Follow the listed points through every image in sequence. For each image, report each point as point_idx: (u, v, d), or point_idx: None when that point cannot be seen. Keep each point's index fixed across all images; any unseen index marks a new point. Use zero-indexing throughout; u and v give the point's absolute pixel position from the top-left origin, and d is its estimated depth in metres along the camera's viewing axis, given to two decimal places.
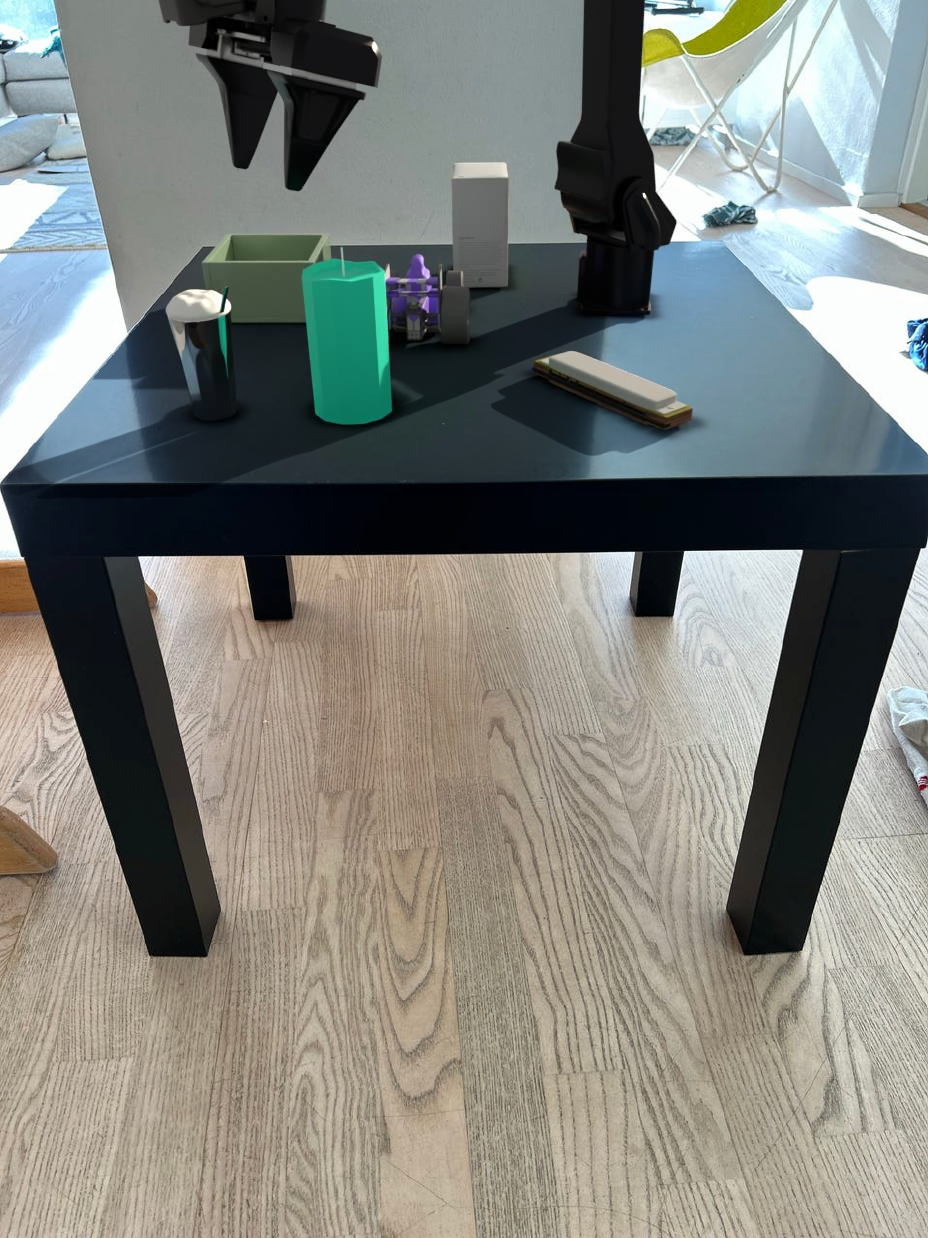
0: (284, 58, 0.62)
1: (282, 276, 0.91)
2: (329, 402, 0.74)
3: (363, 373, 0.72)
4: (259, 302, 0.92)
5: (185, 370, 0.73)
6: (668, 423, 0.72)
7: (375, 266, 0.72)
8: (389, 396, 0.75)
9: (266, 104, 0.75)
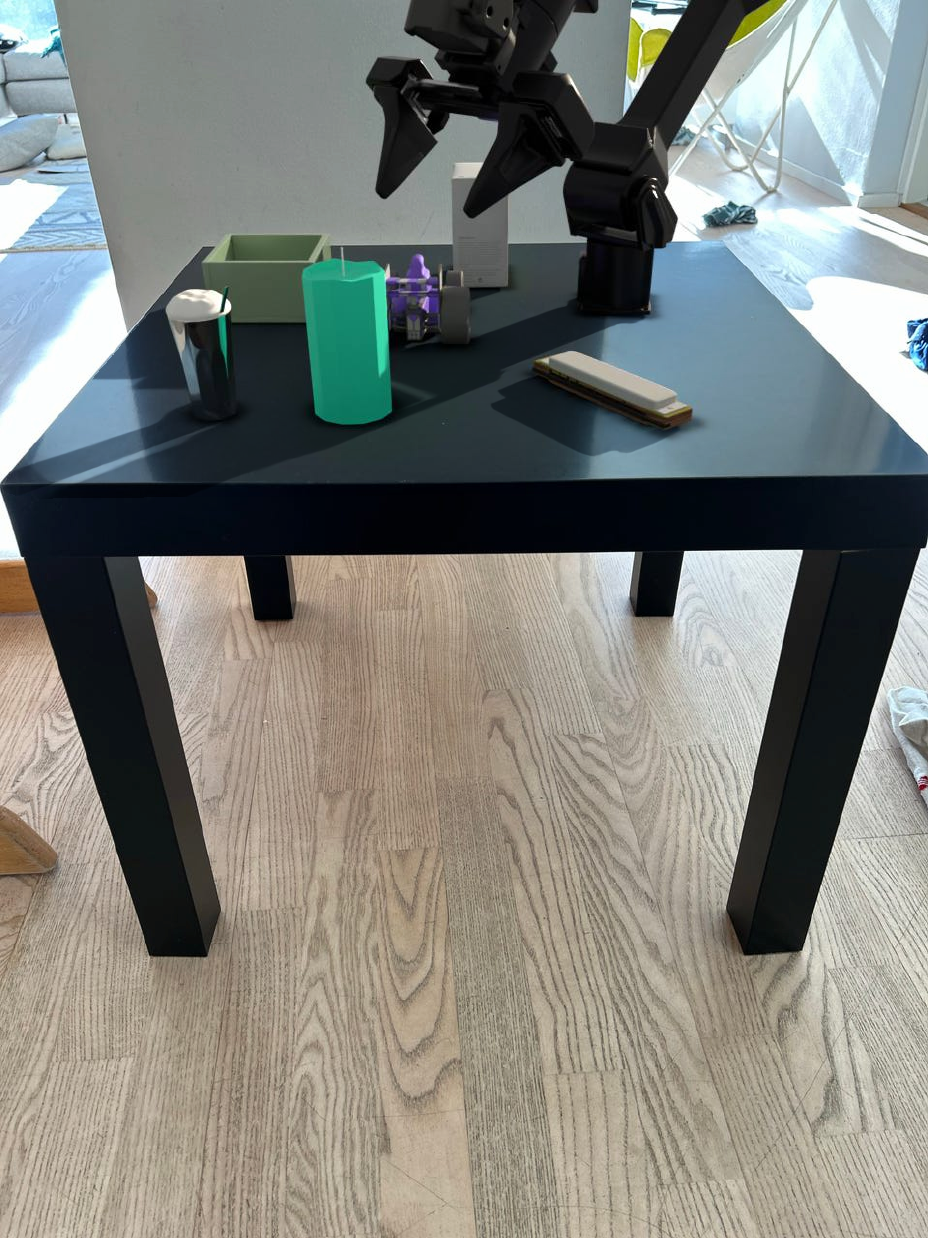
0: (534, 92, 0.67)
1: (282, 276, 0.91)
2: (329, 402, 0.74)
3: (363, 373, 0.72)
4: (259, 302, 0.92)
5: (185, 370, 0.73)
6: (668, 423, 0.72)
7: (375, 266, 0.72)
8: (389, 396, 0.75)
9: (417, 157, 0.78)
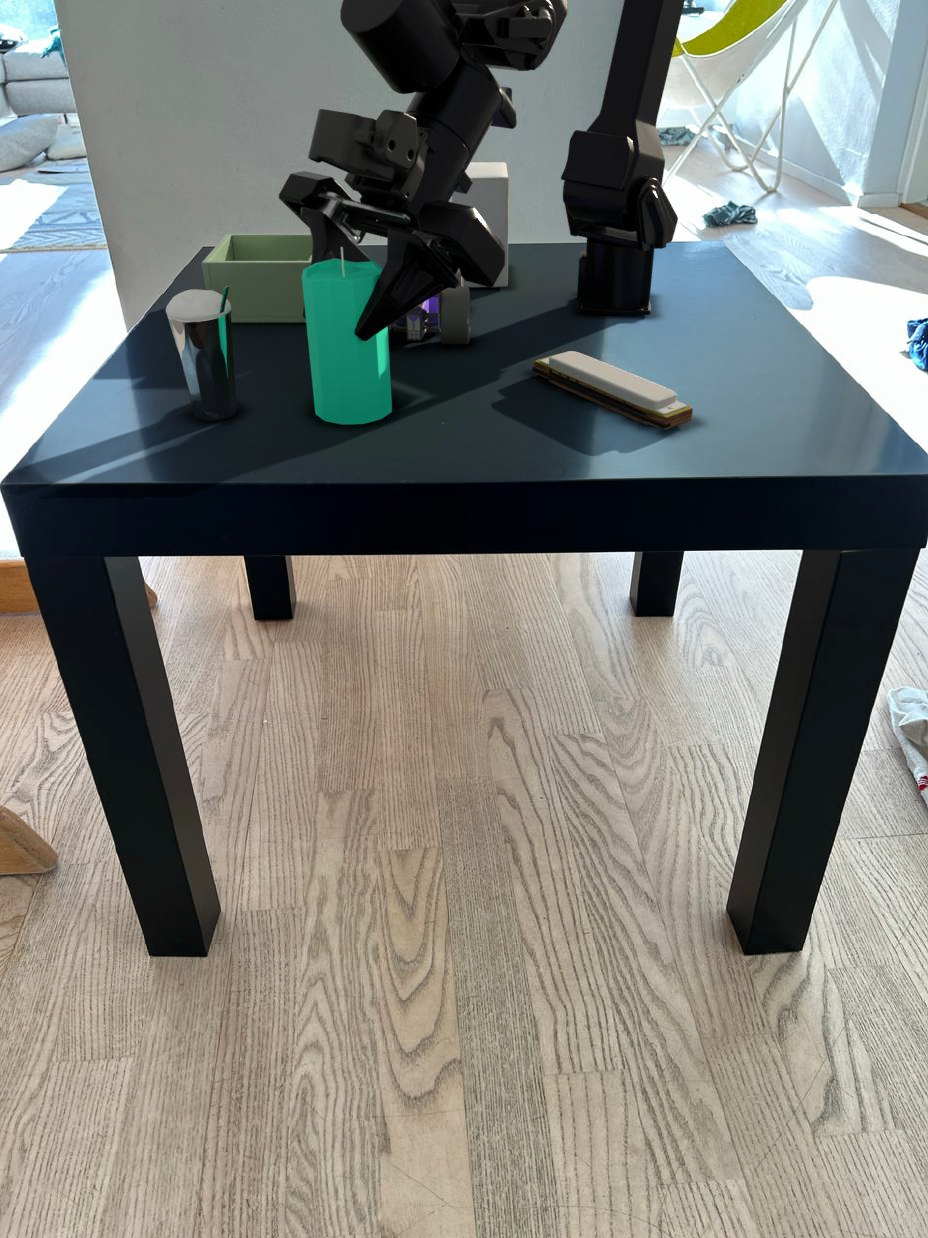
0: (438, 226, 0.65)
1: (282, 276, 0.91)
2: (329, 402, 0.74)
3: (363, 373, 0.72)
4: (259, 302, 0.92)
5: (185, 370, 0.73)
6: (668, 422, 0.72)
7: (375, 266, 0.72)
8: (389, 396, 0.75)
9: None
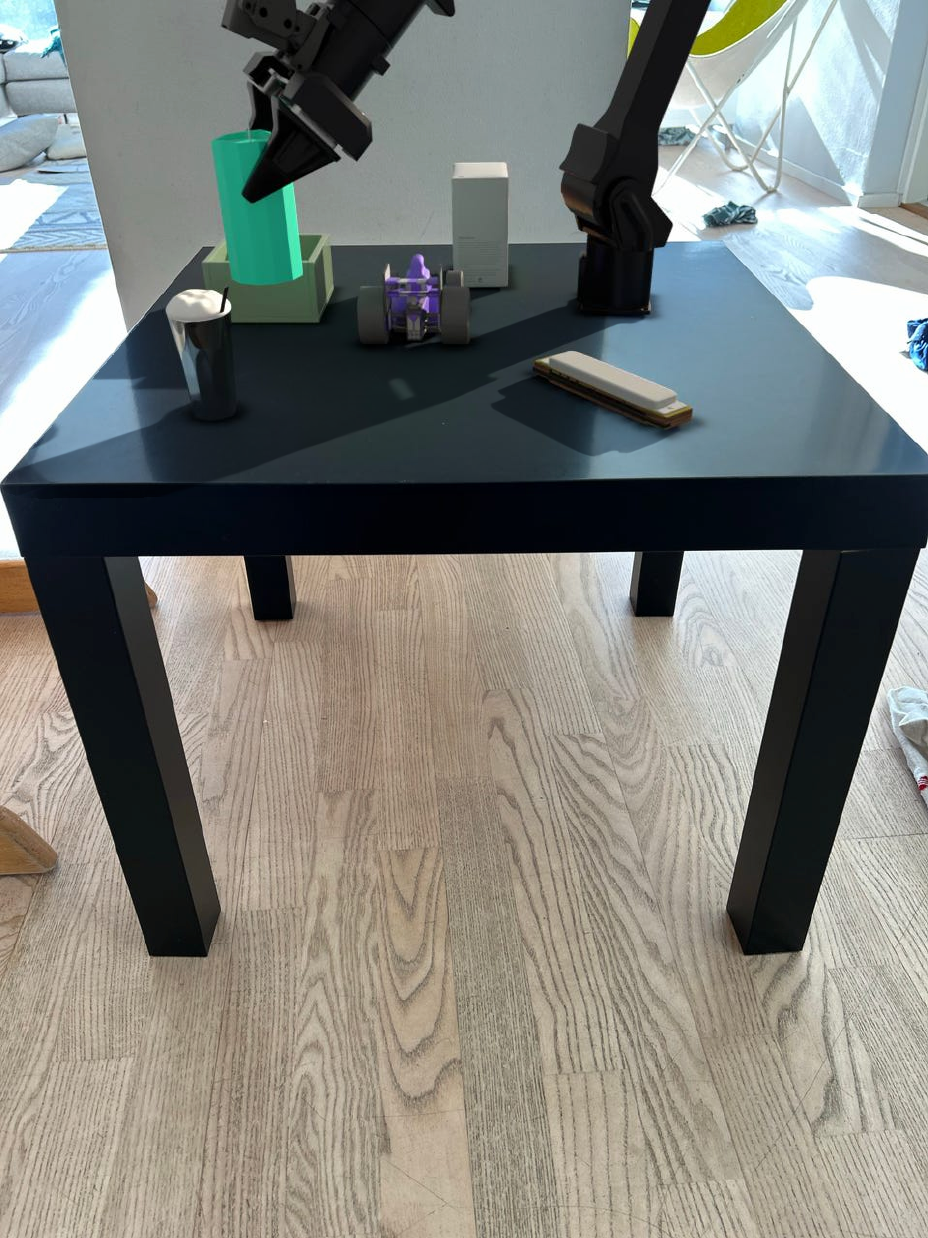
0: (291, 91, 0.69)
1: None
2: (231, 260, 0.81)
3: (254, 235, 0.78)
4: (259, 302, 0.92)
5: (185, 370, 0.73)
6: (668, 422, 0.72)
7: None
8: (288, 264, 0.81)
9: None
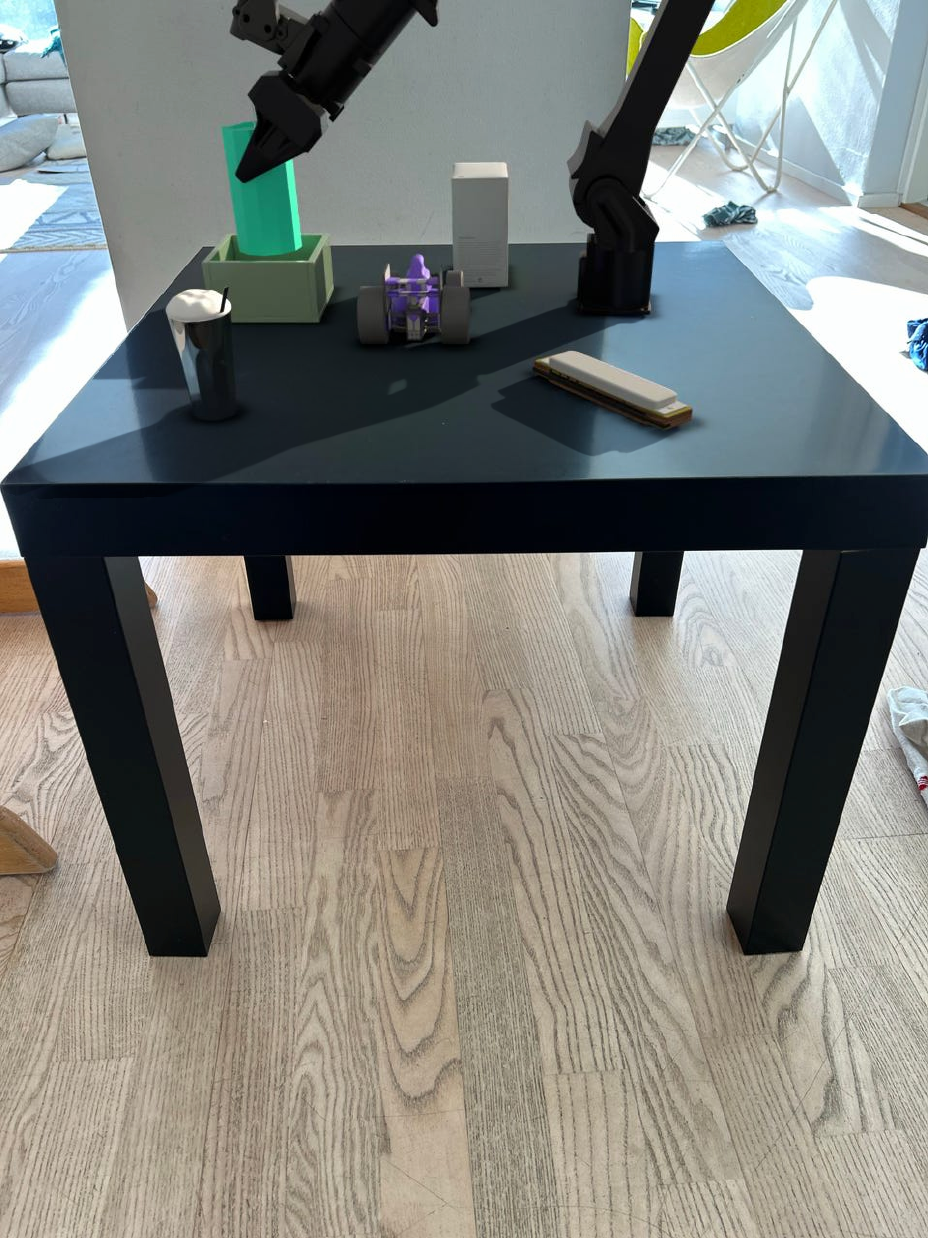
0: None
1: (282, 276, 0.91)
2: (236, 231, 0.93)
3: (246, 210, 0.90)
4: (259, 302, 0.92)
5: (185, 370, 0.73)
6: (668, 423, 0.72)
7: None
8: (278, 239, 0.91)
9: None
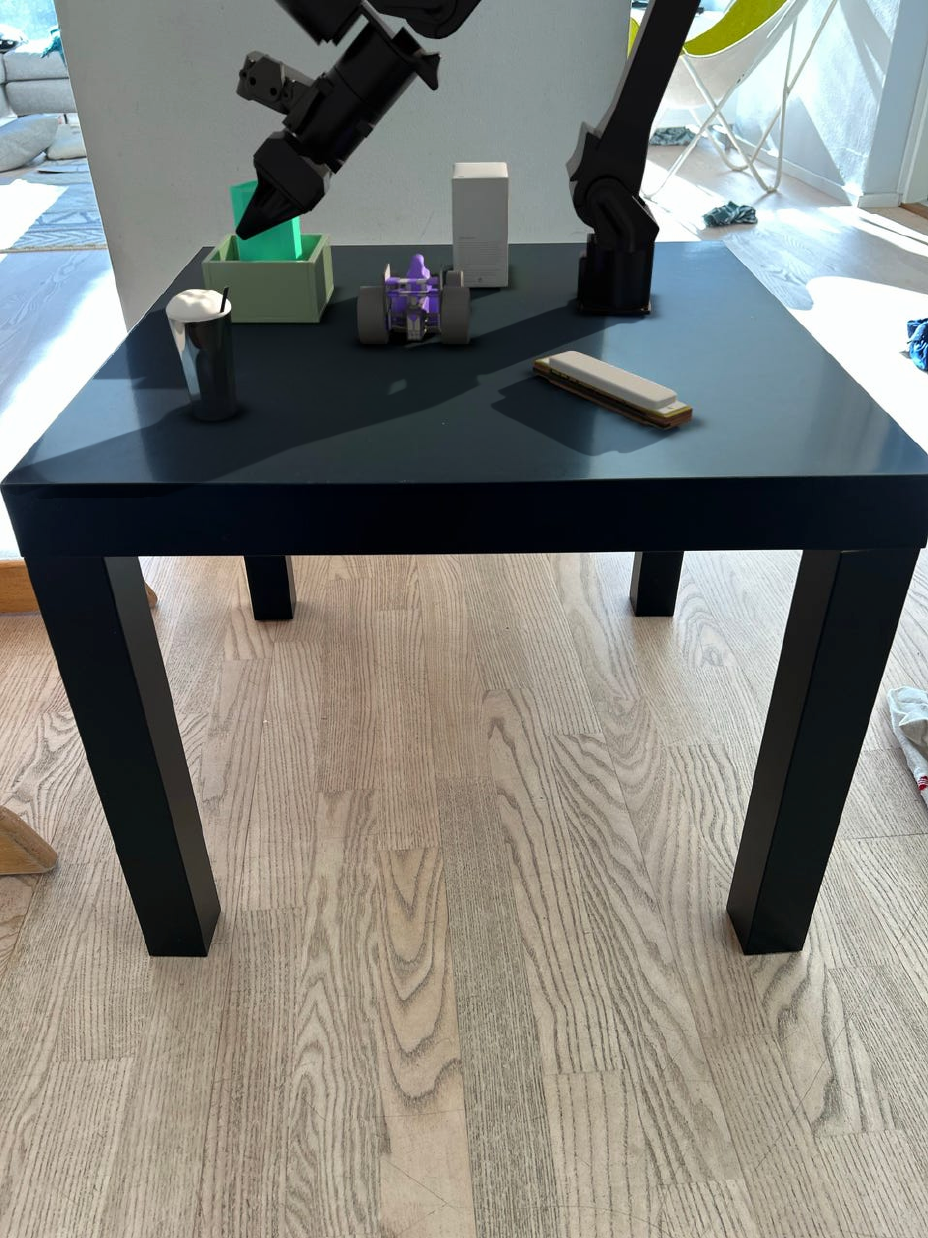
0: None
1: (282, 276, 0.91)
2: None
3: None
4: (259, 302, 0.92)
5: (185, 370, 0.73)
6: (668, 422, 0.72)
7: None
8: None
9: None
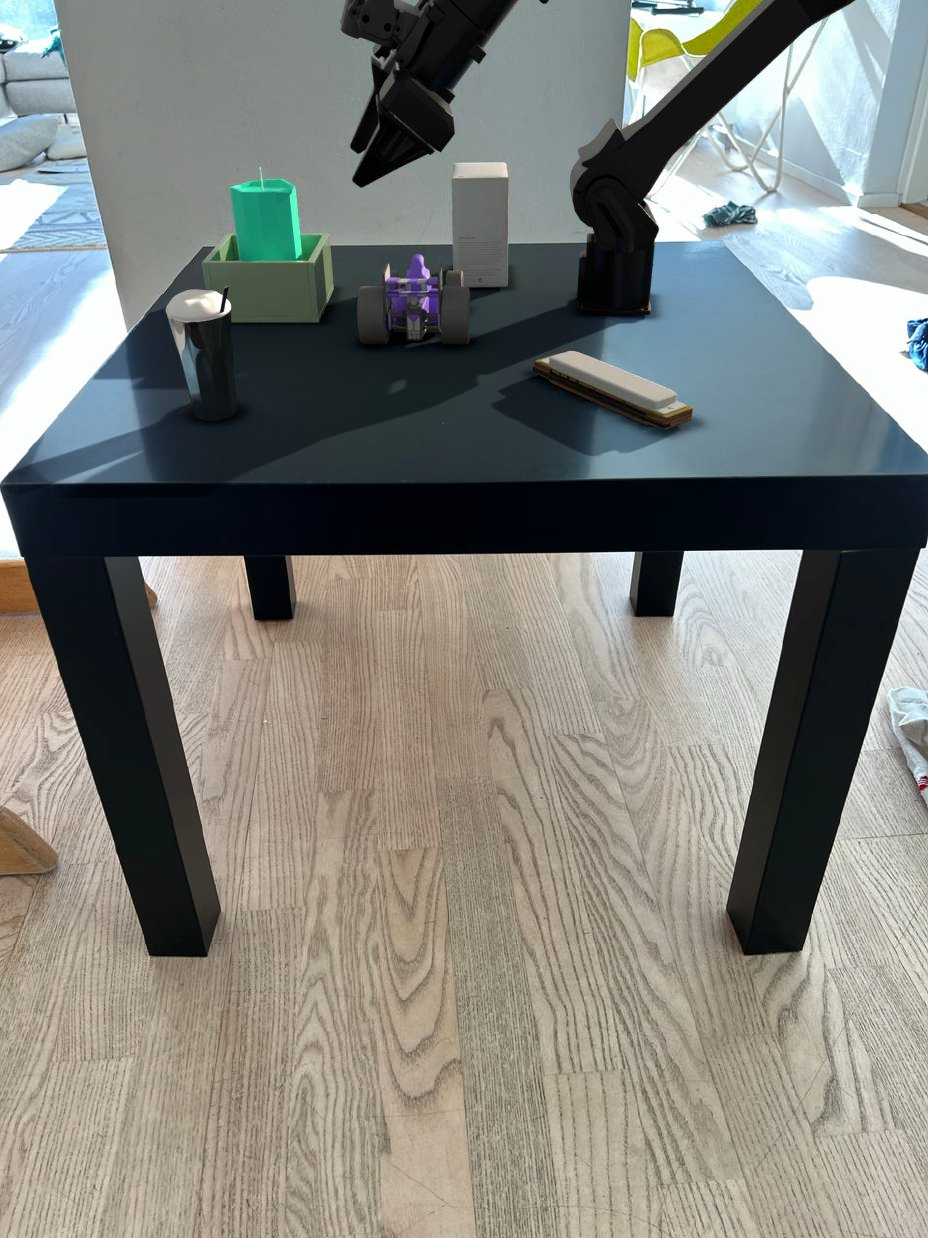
0: (383, 93, 0.79)
1: (282, 276, 0.91)
2: None
3: None
4: (259, 302, 0.92)
5: (185, 370, 0.73)
6: (668, 422, 0.72)
7: (289, 188, 0.91)
8: None
9: None
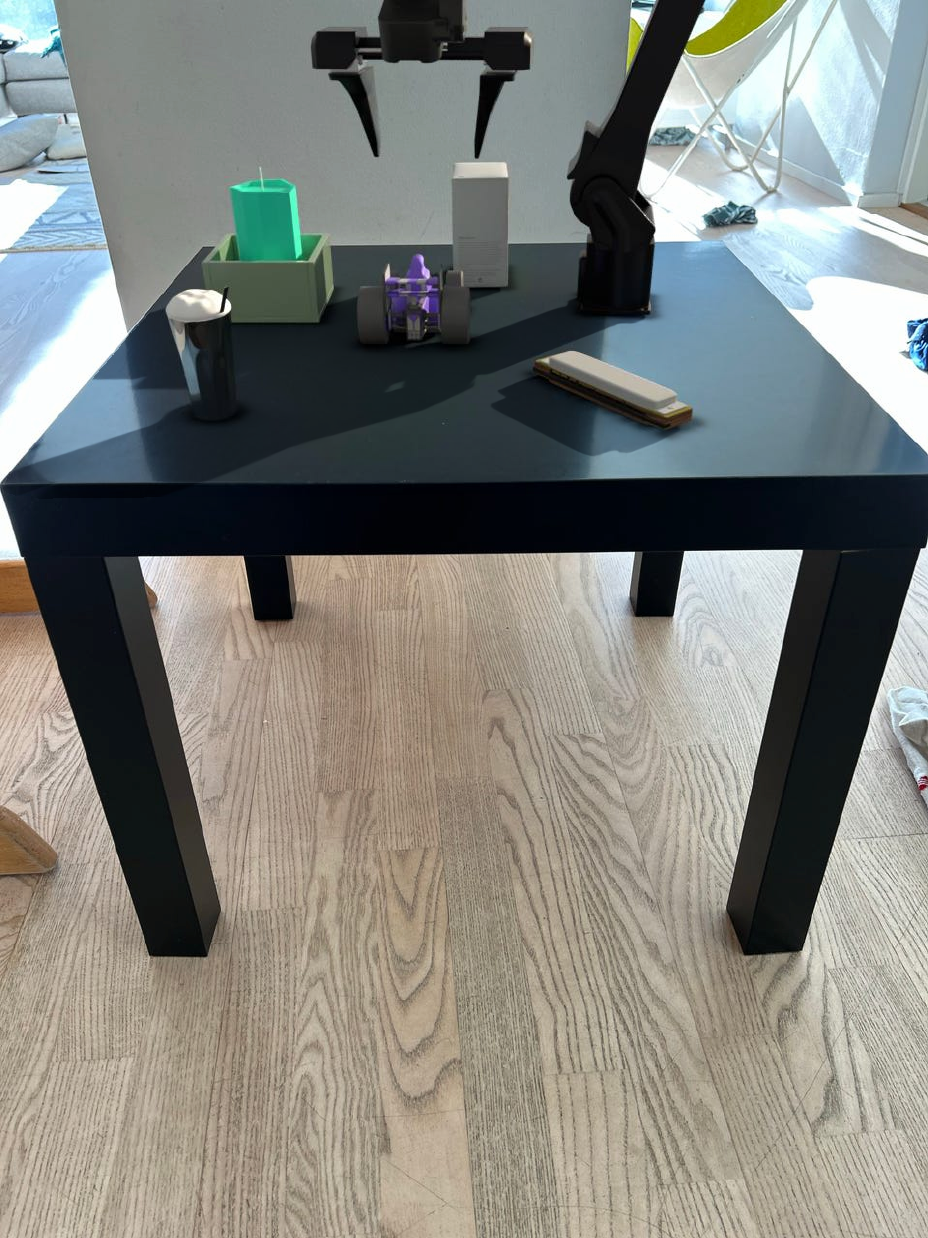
0: (510, 64, 0.83)
1: (282, 276, 0.91)
2: None
3: None
4: (259, 302, 0.92)
5: (185, 370, 0.73)
6: (668, 423, 0.72)
7: (289, 188, 0.91)
8: None
9: (374, 97, 0.90)
